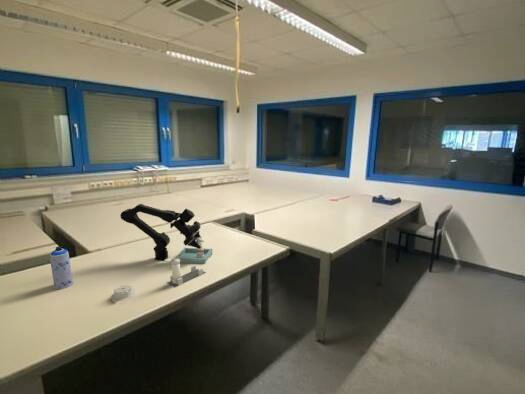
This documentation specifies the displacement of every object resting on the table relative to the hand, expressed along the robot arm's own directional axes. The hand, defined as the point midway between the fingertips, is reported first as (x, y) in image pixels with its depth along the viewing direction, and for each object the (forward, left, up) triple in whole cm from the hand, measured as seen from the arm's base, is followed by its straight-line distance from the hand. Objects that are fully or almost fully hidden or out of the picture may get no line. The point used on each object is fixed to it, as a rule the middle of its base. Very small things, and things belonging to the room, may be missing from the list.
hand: (201, 245), depth 171 cm
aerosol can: (-59, -39, -9) cm, 71 cm away
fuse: (-4, -32, -8) cm, 33 cm away
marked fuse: (-1, 0, -8) cm, 8 cm away
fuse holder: (0, -26, -9) cm, 27 cm away
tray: (-5, -1, -9) cm, 10 cm away
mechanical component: (-24, -45, -9) cm, 52 cm away
